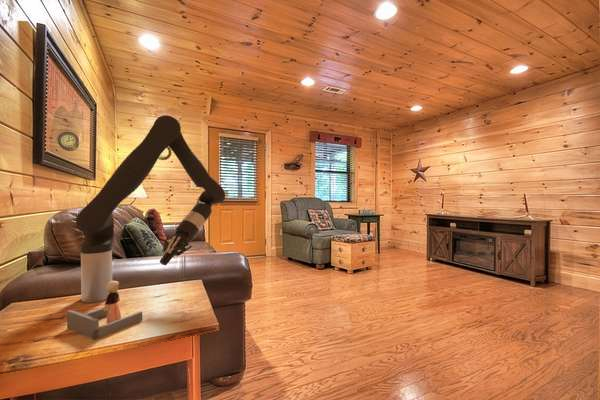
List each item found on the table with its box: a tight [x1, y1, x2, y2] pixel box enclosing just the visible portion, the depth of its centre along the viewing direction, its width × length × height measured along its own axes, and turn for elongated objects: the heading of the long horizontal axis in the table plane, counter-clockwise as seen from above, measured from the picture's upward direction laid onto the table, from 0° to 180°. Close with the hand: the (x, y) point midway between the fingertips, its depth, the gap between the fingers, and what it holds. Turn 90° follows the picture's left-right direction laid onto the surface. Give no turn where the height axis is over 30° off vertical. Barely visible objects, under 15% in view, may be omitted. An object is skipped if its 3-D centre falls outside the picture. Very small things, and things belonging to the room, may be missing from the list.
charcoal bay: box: [66, 307, 143, 341], centre depth 83 cm, size 14×13×5 cm
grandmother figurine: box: [103, 280, 122, 324], centre depth 83 cm, size 8×4×13 cm, turn 19°
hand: (162, 263), depth 99 cm, fingers closed
